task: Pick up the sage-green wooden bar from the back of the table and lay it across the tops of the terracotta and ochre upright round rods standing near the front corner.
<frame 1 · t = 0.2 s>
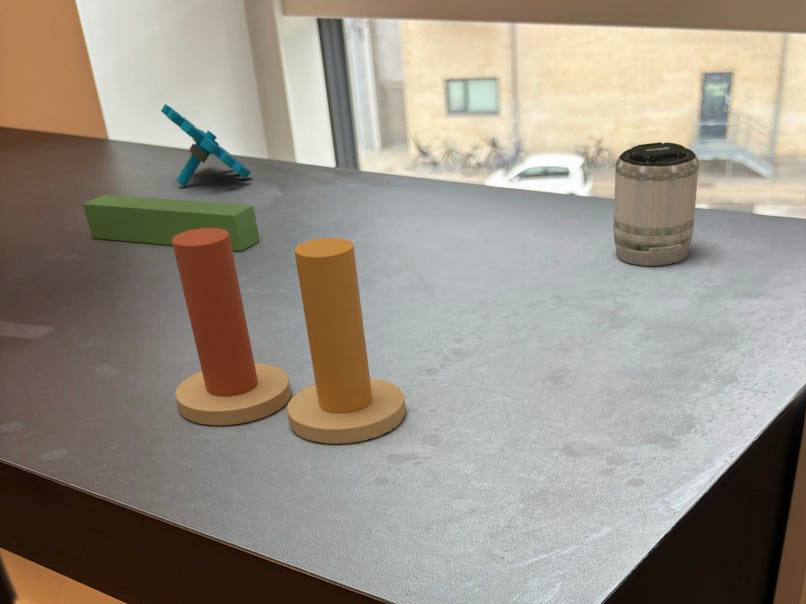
ochre rod: (347, 416, 61), on the table
terracotta rod: (235, 400, 64), on the table
teal blocky crossed piece: (214, 183, 106), on the table
camera lens: (651, 257, 81), on the table
green bar: (174, 239, 91), on the table
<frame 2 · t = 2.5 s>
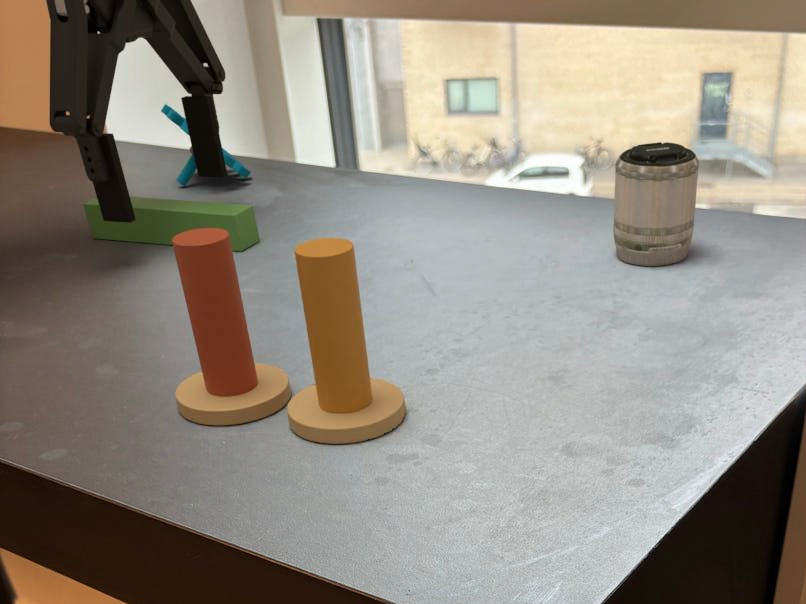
hand: (169, 197, 88), 4 cm above the table, tool pointing down, fingers open, 13 cm apart
nothing on the table moved.
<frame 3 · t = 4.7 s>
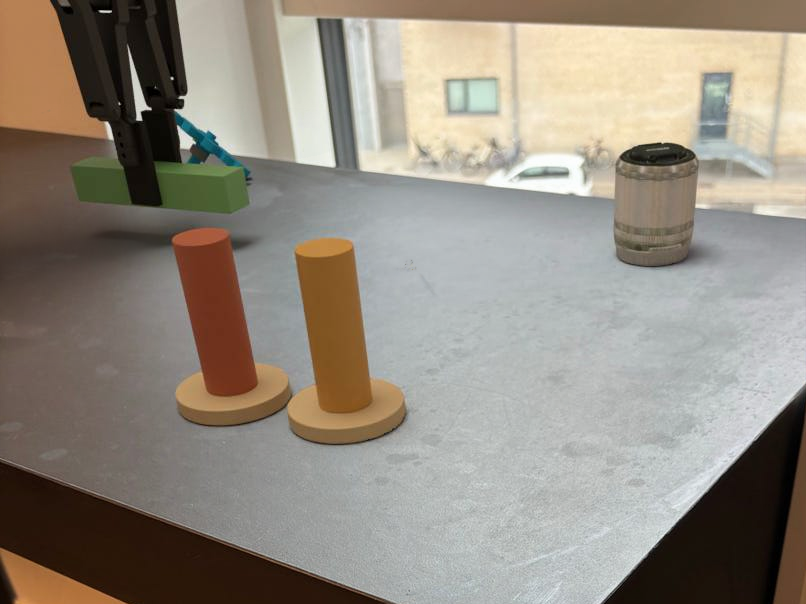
hand: (160, 197, 88), 4 cm above the table, tool pointing down, fingers closed on green bar, 3 cm apart
green bar: (163, 202, 89), point 3 cm above the table, touching gripper
everything else where it was.
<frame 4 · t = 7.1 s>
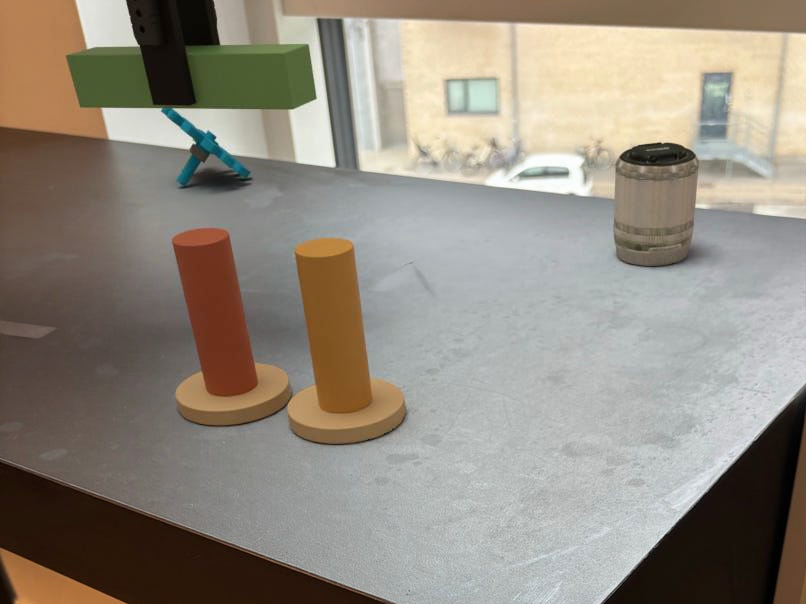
hand: (191, 96, 64), 15 cm above the table, tool pointing down, fingers closed on green bar, 3 cm apart
green bar: (195, 103, 64), point 15 cm above the table, touching gripper
everything else where it was.
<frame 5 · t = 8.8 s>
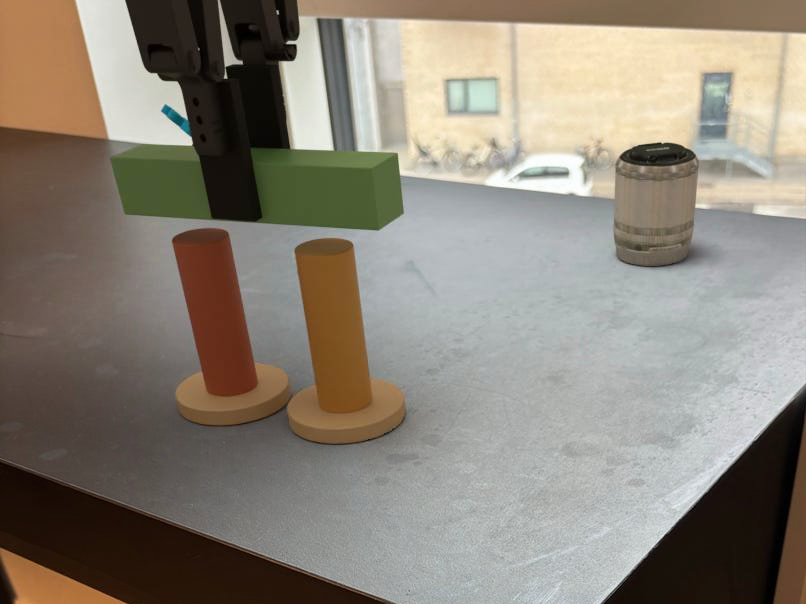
hand: (255, 207, 55), 12 cm above the table, tool pointing down, fingers closed on green bar, 3 cm apart
green bar: (260, 214, 55), point 11 cm above the table, touching gripper
everything else where it was.
when the fingers open (10 cm above the table, at t = 9.5 s): green bar stays where it is, resting on ochre rod, terracotta rod.
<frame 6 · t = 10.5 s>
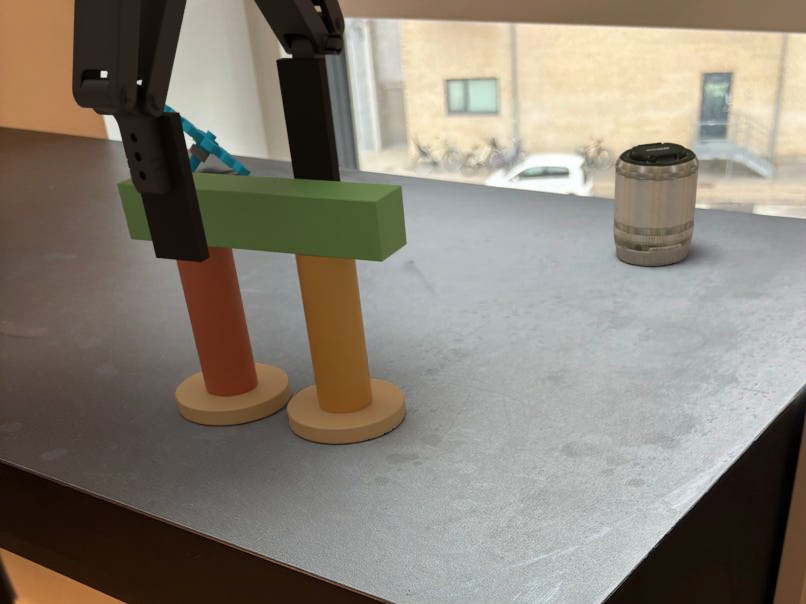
hand: (256, 218, 55), 11 cm above the table, tool pointing down, fingers open, 13 cm apart
green bar: (265, 241, 56), point 10 cm above the table, touching ochre rod, terracotta rod
everything else where it was.
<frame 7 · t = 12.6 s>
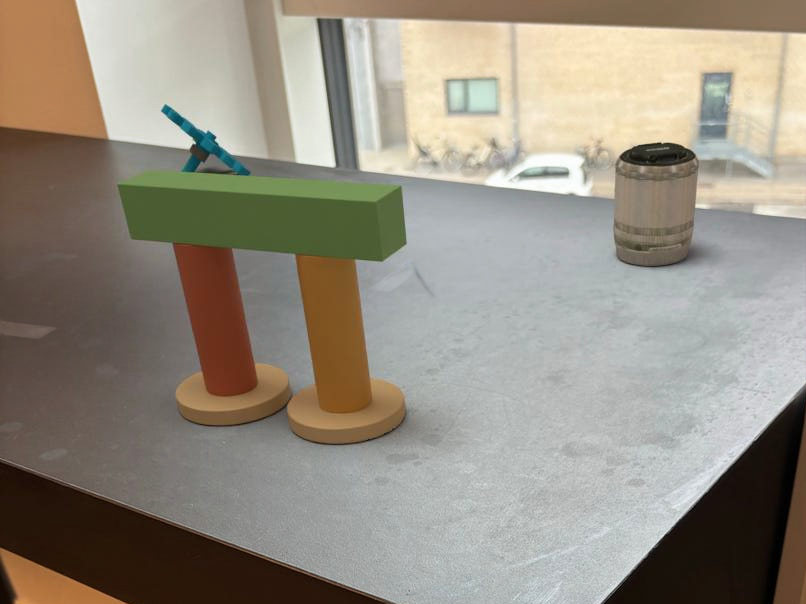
nothing on the table moved.
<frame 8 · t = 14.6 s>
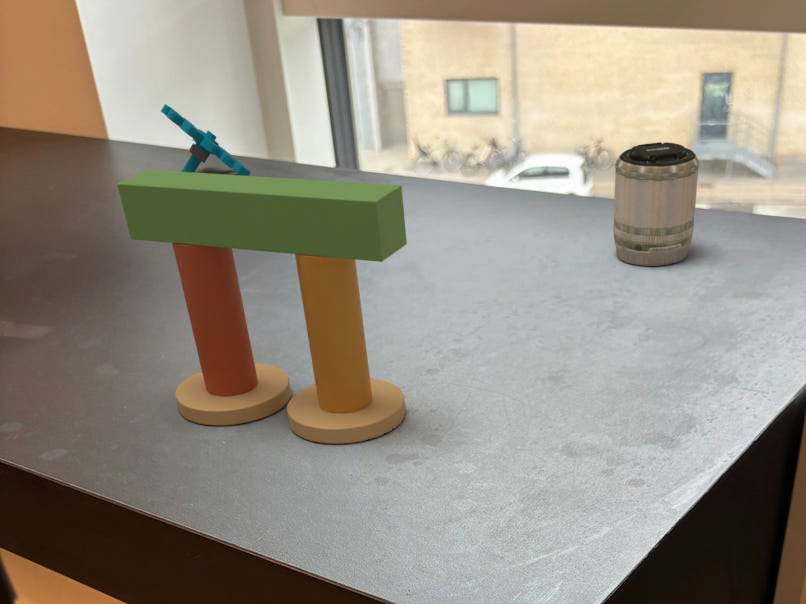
nothing on the table moved.
at the end: green bar 0.3 cm from the target spot on the terracotta rod, point 10.0 cm above the terracotta rod's base; green bar tilted 0°; green bar touching ochre rod, terracotta rod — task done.
